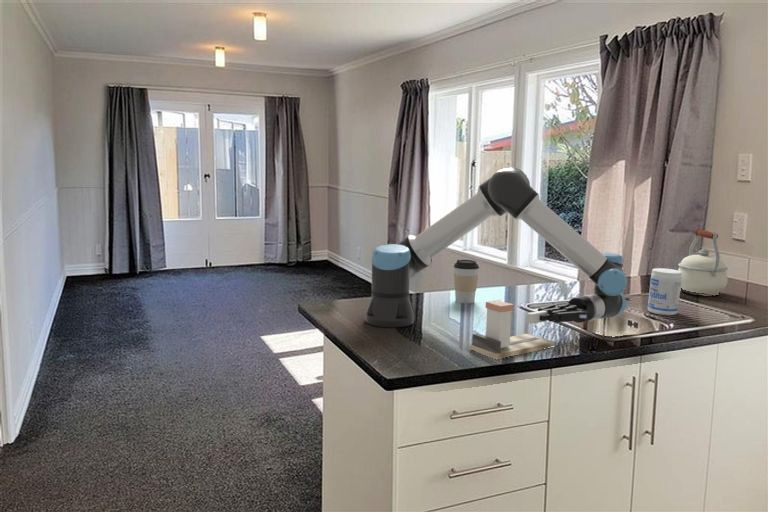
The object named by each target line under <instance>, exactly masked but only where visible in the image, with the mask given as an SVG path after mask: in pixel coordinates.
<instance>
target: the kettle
mask: <svg viewBox="0 0 768 512" xmlns="http://www.w3.org/2000/svg"><path fill="white" fill-rule="evenodd" d="M699 237H702V238H706V239H711V240H712V247H713V250H714V254H715V255H714V256H713V255H709V254H710V251H709V250H708V249H707V248H705V247H703V248H702V249H700V250H699V251H698V253H699V254H693V253H694V248H695V246H696V244H697V242H698V240H699ZM718 237H719V235H718V233H716V232H711V231H708V230H705V229H704V230H703V229H700V228H695V230H694V240H693V241H692V242H691V245H690V247H689V253H688V255H687V256H686V257H684V258H683V259H682V260H681V261H680V262H679V263H678V264H677V265H678V271H681V272H682V279H681V288H682V289H683V290H686V291H690V292H696V293H706V294H716V293H719V292H720V293H721V292H722V291H723V290H724V289H725V288H726V287H727V285H728V274H727V271H728V270H729V269H728V267H727V266H726V264H725V262H724V261H723V260H722V259H721V258H720V257H721V256H720V253H719V252H720V251H719V248H718V244H717V240H718ZM681 288H680V289H681Z"/></svg>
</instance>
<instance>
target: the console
mask: <svg viewBox="0 0 768 512" xmlns="http://www.w3.org/2000/svg"><path fill="white" fill-rule="evenodd" d="M471 340H472V341H471V344H470V347H469V350H470V349H471V350H474V351H476V352H475V353H477V352H479V353H481V354H480V355H482V354H483V355H482V356H484V355H486V356H485V357H487V356H488V357H487V358H490V357H491V358H490V359H492V358H493V359H492V360H495V359H496V360H495V361H498V360H497V359H499V360H502V359H501V358H504V359H506V358H505V357H508V358H510V357H509V356H513V355H518V356H520V355H519V354H522V355H526V354H525V353H527V354H530V353H529V352H531V353H535V352H534V351H536V352H538V350H540V351H543V350H542V349H544V348H548V347H551V346H556V342H555V341H552V340H549V339H547V338H543V337H540V336H537V335H535V334H531V333H523V334H517V335H512V336H511V335H510V346H509V347H504V348H501V341H498V340H495V339H492V338H489V337H486V335H483V334H481V333H478V332H477V333H472V339H471ZM471 350H470V351H471ZM474 351H473V352H474ZM479 353H478V354H479ZM513 357H514V356H513Z"/></svg>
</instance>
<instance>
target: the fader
mask: <svg viewBox="0 0 768 512" xmlns="http://www.w3.org/2000/svg"><path fill="white" fill-rule="evenodd" d="M485 309H486V324H485V325H486V326H485V336H486V337H489V338H492V339H495V340H498V341H501V348H504V347H509V346H510V337H511V330H512V328H511V327H512V311H514V304H513V303H510V302H506V301H502V300H492V301H491V300H490V301H485Z"/></svg>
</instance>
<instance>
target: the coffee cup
mask: <svg viewBox="0 0 768 512" xmlns="http://www.w3.org/2000/svg"><path fill="white" fill-rule="evenodd" d="M453 268H454V269H453V270H454V273H453V279H454V293H455V294H454V295H455V303H456V302H457V303H459V304H465V305H466V304H473V303H475V299H476V291H477V285H478V280H479V269H480V267H479V264H478V263H477V261H475V260H472V259H457V260H456V262H455V263H454V266H453Z"/></svg>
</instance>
